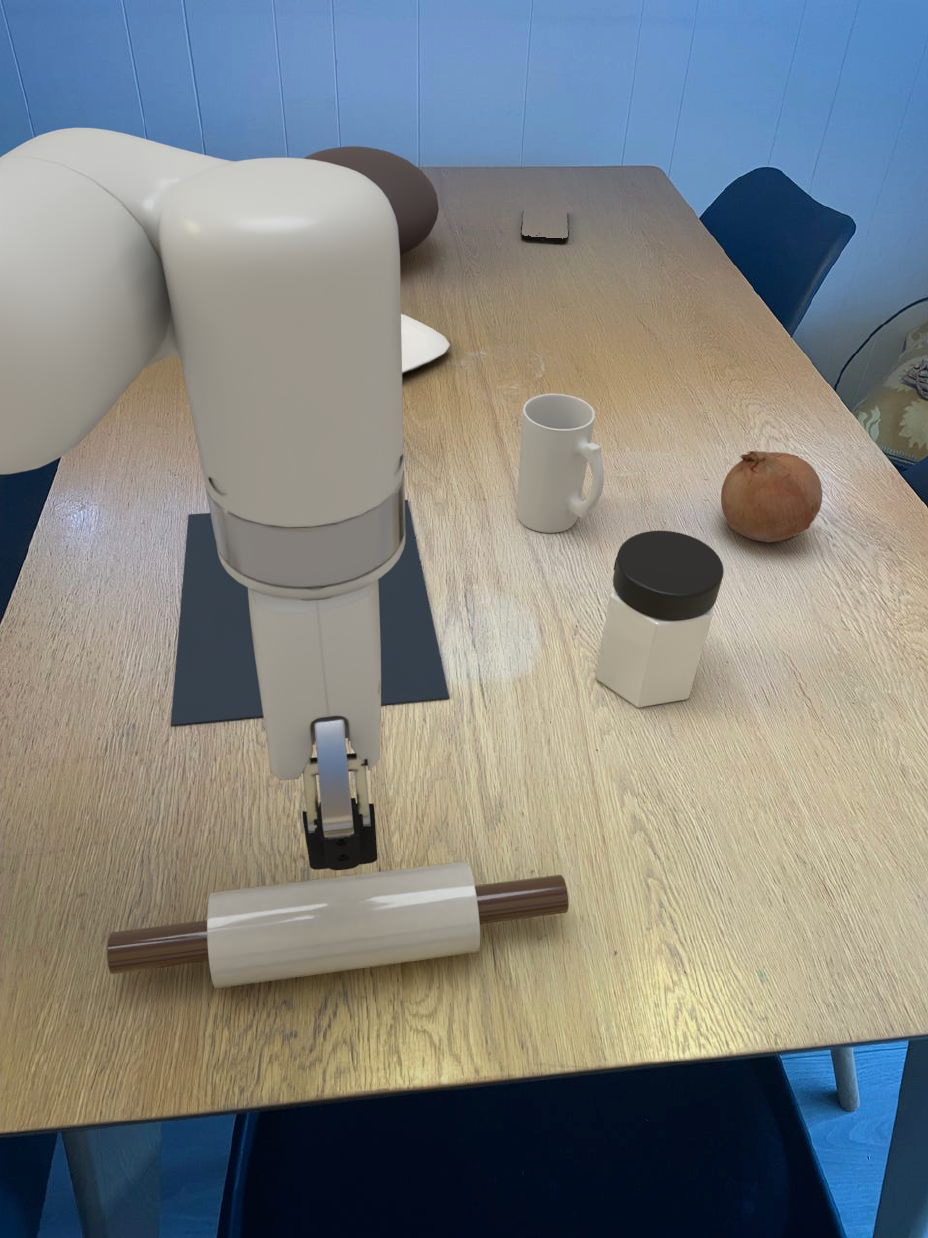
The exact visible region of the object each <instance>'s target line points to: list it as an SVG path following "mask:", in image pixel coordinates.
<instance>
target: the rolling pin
mask: <svg viewBox="0 0 928 1238" xmlns="http://www.w3.org/2000/svg"><path fill="white" fill-rule="evenodd" d="M569 903H570V902H569V893H568V887H567V883H566V880H565V877H564V876H563V875H562V874H552V875H546V876H539V877H531V878H522V879H515V880H507V881H499V882H491V883H483V884H477V885H475V879H474V874H473V871H472V867H471V864H470V863H469V861H468V860H459V861H451V862H443V863H435V864H427V865H420V866H412V867H402V868H395V869H394V868H393V869H387V870H378V871H371V872H370V871H369V872H364V873H363V872H362V873H355V874H347V875H339V876H332V877H323V878H322V877H321V878H315V879H307V880H299V881H291V882H281V883H275V884H274V883H273V884H267V885H259V886H249V887H243V888H242V887H241V888H235V889H227V890H220V891H219V890H218V891H212V892H210V894H209V897H208V903H207V914H206V919H205V920H204V919H203V920H197V921H190V922H189V921H187V922H181V923H173V924H165V925H158V926H150V927H143V928H134V929H125V930H119V931H111V932H110V933H109V935H108V939H107V945H106V959H107V968H108V971H109V973H110V975H117V974H125V973H133V972H140V971H147V970H154V969H161V968H162V969H163V968H170V967H177V966H184V965H191V964H192V965H193V964H199V963H208V965H209V966H208V967H209V972H210V977H211V982H212V985H213V987H214V989H225V988H229V987H238V986H245V985H246V986H247V985H252V984H253V985H254V984H260V983H266V982H275V981H280V980H287V979H288V980H289V979H295V978H302V977H309V976H317V975H323V974H331V973H338V972H347V971H352V970H359V969H366V968H367V969H369V968H375V967H382V966H387V965H388V966H390V965H396V964H402V963H410V962H417V961H424V960H432V959H437V958H439V959H440V958H445V957H453V956H460V955H467V954H475V953H478V952H480V947H481V925H487V924H495V923H503V922H509V921H516V920H525V919H532V918H539V917H546V916H554V915H555V916H556V915H563V914H567V913H568V911H569V905H570V904H569Z"/></svg>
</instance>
